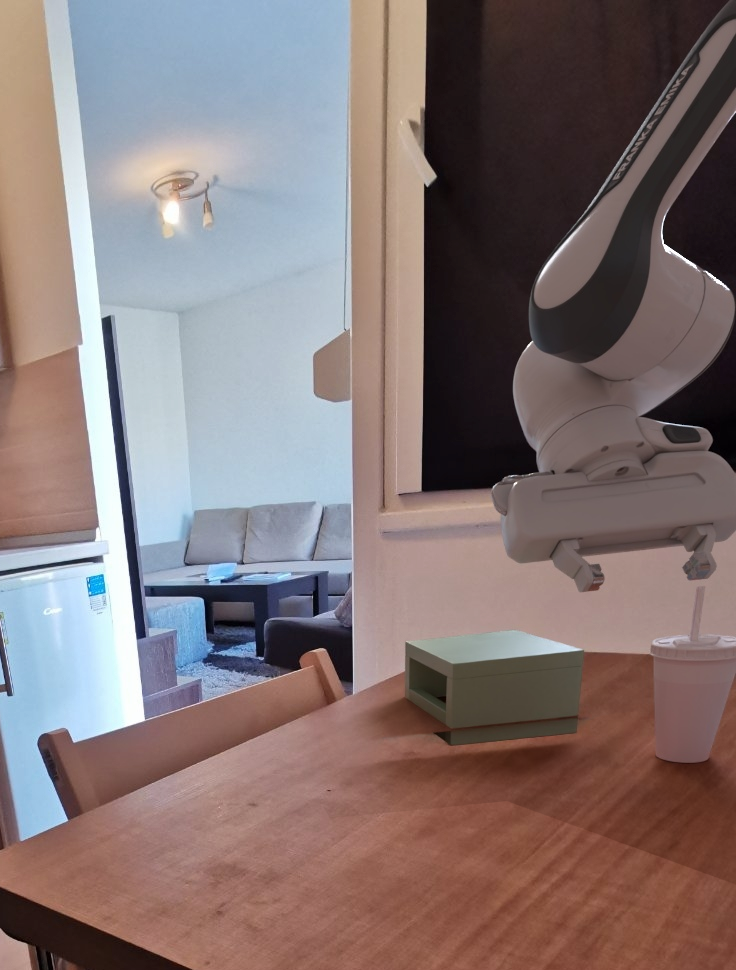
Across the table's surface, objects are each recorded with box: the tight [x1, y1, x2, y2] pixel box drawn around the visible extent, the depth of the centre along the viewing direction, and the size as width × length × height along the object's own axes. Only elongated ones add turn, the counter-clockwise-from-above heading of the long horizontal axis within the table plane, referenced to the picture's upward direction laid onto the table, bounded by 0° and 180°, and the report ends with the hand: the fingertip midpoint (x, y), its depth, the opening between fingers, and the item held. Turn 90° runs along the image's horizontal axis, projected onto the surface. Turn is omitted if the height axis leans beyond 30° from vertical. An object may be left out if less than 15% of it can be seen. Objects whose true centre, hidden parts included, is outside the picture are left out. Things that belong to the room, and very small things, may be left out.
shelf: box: [404, 629, 585, 746], centre depth 78 cm, size 12×14×8 cm
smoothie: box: [648, 585, 736, 764], centre depth 62 cm, size 6×6×14 cm
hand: (648, 581), depth 66 cm, fingers open, 8 cm apart
